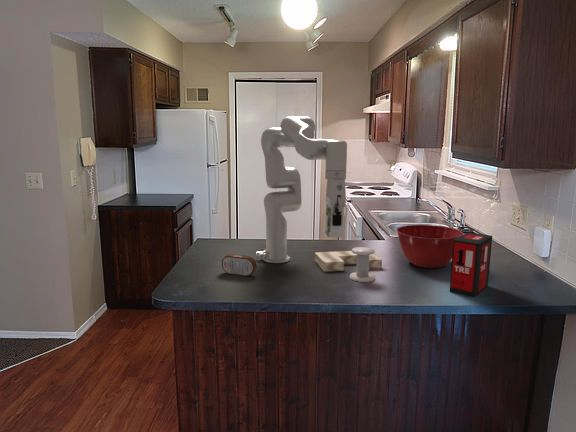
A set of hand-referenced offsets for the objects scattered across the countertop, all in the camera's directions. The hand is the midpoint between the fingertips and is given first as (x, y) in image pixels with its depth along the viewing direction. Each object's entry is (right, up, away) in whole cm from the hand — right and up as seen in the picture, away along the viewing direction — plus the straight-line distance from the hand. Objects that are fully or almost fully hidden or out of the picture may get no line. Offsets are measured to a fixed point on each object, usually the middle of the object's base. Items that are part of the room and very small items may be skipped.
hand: (334, 223), depth 167 cm
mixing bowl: (+46, -19, +38) cm, 62 cm away
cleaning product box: (+52, -25, +6) cm, 58 cm away
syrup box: (0, -5, +1) cm, 5 cm away
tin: (-37, -22, +21) cm, 48 cm away
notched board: (+10, -19, +36) cm, 42 cm away
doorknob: (+13, -23, +17) cm, 31 cm away
